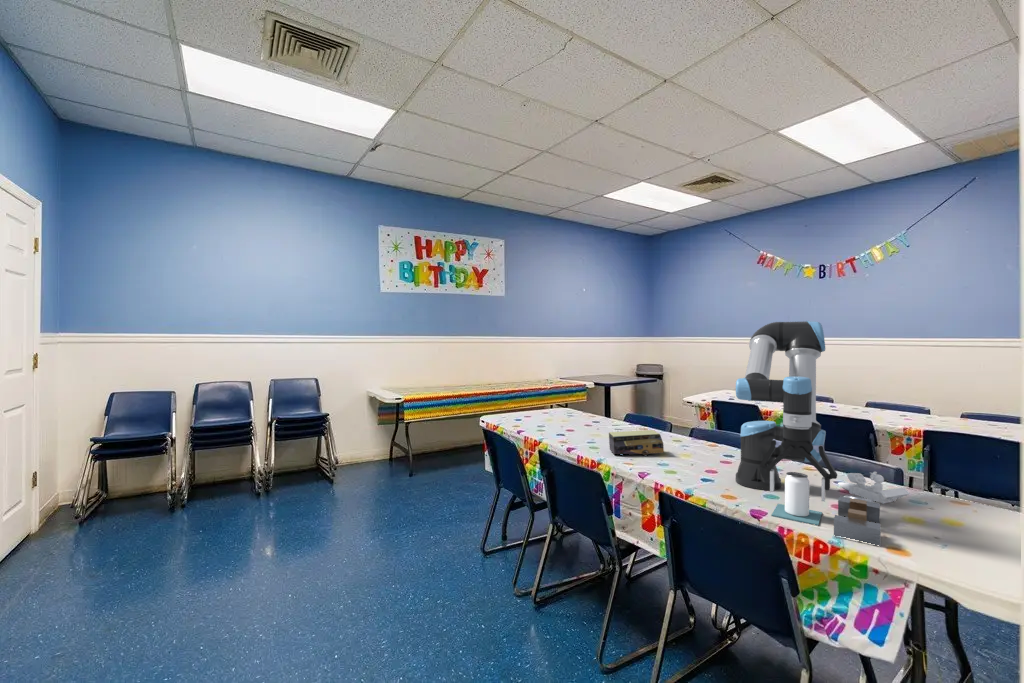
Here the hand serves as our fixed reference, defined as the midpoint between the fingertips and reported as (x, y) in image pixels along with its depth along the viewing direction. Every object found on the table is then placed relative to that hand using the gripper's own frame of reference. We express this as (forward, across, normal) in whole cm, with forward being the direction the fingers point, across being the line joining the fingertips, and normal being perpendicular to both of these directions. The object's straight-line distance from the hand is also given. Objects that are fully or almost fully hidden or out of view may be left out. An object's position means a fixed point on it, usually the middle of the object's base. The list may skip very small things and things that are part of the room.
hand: (797, 495), depth 141 cm
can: (+6, 0, 0) cm, 6 cm away
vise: (+6, +15, +4) cm, 17 cm away
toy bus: (+7, -70, +41) cm, 81 cm away
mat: (+6, 0, 0) cm, 6 cm away
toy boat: (+7, +17, +35) cm, 39 cm away
